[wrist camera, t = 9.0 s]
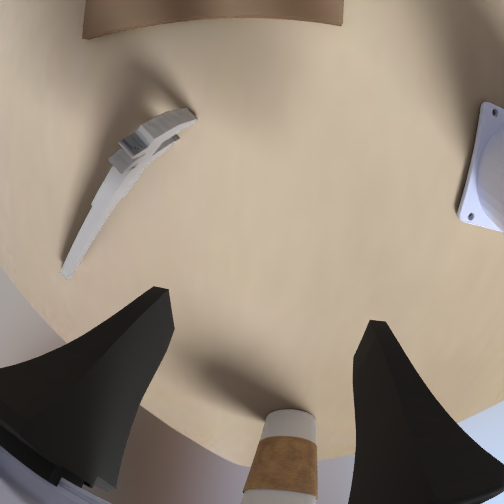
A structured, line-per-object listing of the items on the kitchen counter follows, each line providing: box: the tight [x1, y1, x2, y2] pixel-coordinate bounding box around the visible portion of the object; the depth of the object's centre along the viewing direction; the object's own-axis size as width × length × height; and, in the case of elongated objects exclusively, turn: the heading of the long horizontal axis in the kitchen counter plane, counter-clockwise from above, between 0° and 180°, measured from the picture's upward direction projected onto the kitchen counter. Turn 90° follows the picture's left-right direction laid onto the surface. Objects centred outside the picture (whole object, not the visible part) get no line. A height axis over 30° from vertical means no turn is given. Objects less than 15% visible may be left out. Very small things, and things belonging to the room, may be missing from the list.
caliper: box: [60, 108, 197, 280], centre depth 18 cm, size 20×1×6 cm, turn 133°
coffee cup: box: [241, 409, 318, 504], centre depth 24 cm, size 8×8×15 cm
